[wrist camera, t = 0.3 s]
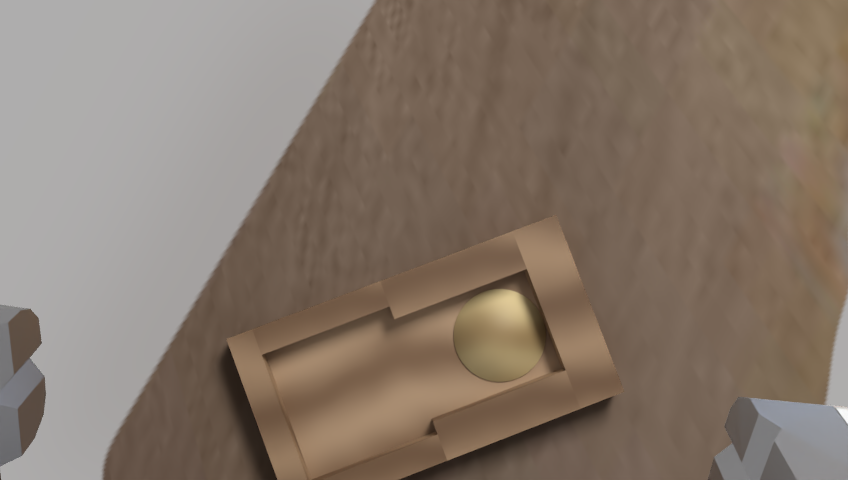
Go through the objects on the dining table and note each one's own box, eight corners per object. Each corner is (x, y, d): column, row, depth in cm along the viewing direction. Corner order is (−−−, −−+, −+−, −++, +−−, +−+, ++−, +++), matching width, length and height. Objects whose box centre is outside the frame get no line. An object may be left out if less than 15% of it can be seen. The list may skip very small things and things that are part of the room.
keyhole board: (615, 387, 62) (624, 391, 60) (296, 511, 61) (292, 521, 59) (550, 217, 63) (556, 214, 60) (233, 337, 62) (226, 339, 59)
